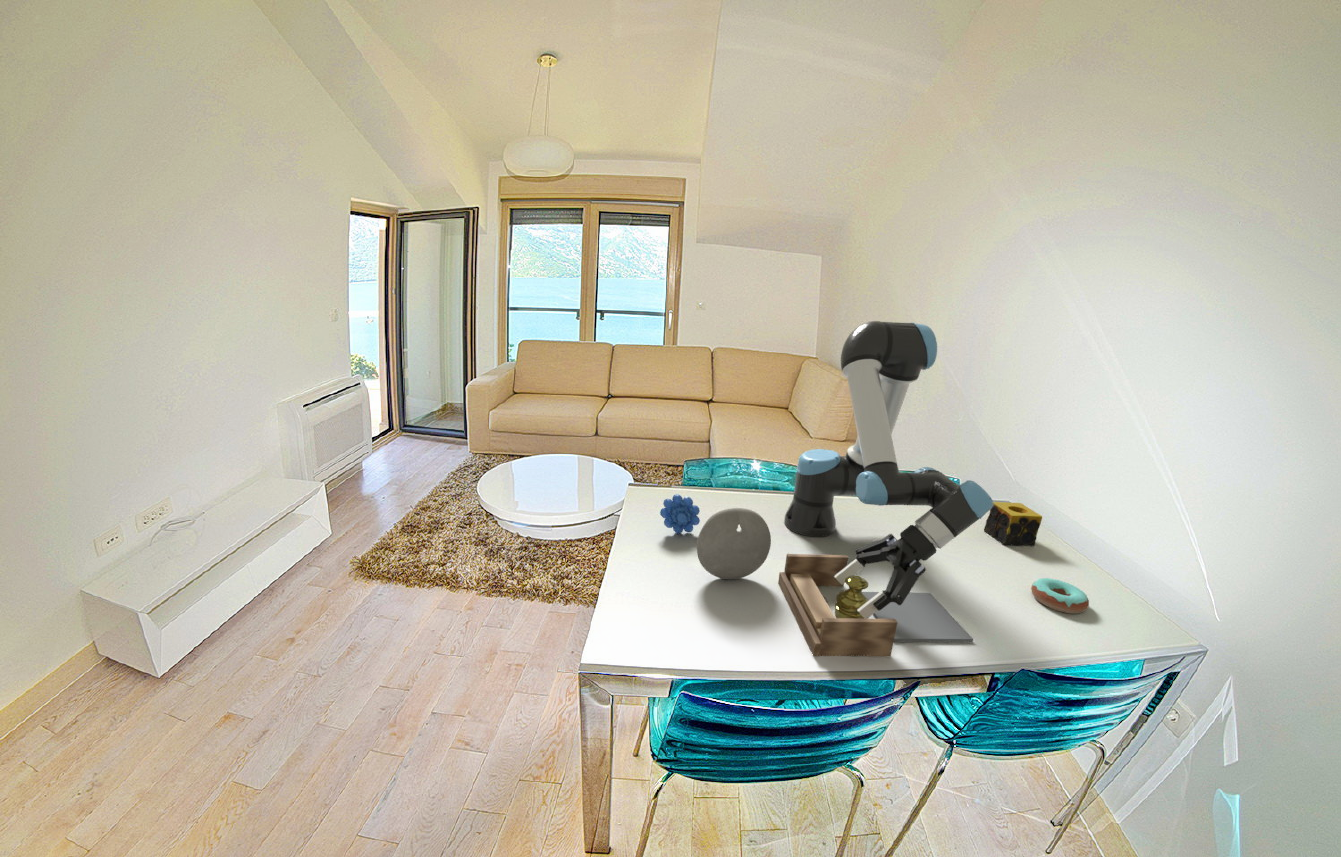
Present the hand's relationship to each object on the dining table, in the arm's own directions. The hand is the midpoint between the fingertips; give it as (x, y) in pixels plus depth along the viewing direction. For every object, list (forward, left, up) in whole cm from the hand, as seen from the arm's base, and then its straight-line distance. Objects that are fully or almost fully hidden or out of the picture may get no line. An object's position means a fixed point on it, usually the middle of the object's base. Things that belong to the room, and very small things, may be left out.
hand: (848, 596), depth 128 cm
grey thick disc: (-28, -3, -5) cm, 29 cm away
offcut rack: (-3, -2, -5) cm, 6 cm away
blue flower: (-51, +8, -5) cm, 52 cm away
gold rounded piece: (+1, +1, -5) cm, 6 cm away
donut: (+39, +42, -6) cm, 58 cm away
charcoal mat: (+12, +11, -5) cm, 17 cm away
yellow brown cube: (+25, +75, -6) cm, 79 cm away
